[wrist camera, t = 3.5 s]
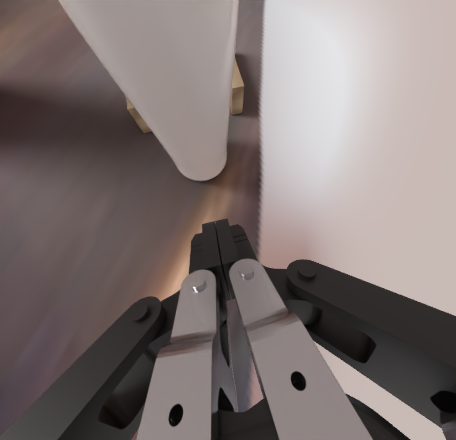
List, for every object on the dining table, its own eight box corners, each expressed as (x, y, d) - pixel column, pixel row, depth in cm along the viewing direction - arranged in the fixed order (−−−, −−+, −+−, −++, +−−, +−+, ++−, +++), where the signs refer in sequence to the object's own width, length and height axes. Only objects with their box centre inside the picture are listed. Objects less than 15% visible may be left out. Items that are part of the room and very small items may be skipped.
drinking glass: (221, 126, 19) (188, -367, 4) (243, 177, 17) (322, -334, 2) (163, 144, 18) (-116, -342, 3) (180, 198, 16) (-201, -277, 2)
